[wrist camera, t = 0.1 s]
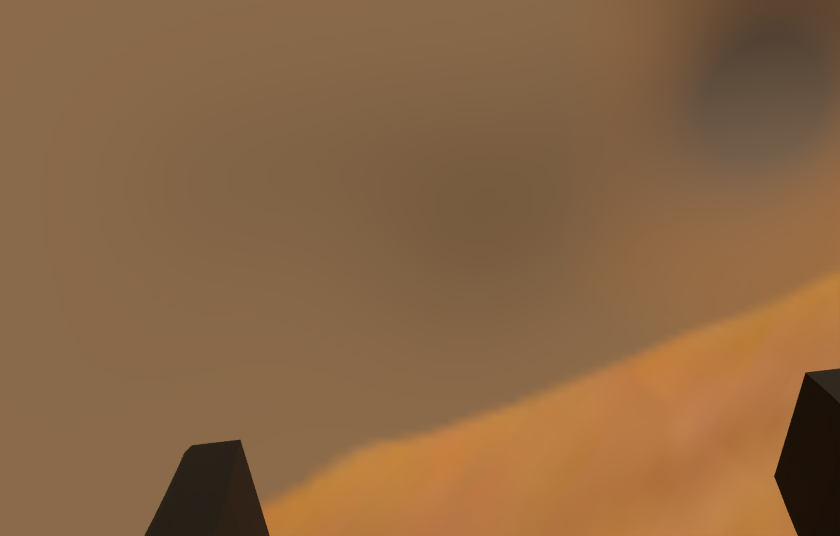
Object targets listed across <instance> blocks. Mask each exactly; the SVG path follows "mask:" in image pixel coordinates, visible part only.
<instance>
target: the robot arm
mask: <svg viewBox="0 0 840 536" xmlns="http://www.w3.org/2000/svg"><path fill="white" fill-rule="evenodd" d="M774 477H775V479H776V482H777V485H778V487H779V490H780V492H781V495H782V498H783V500H784V503H785V505H786V508H787V510H788V513H789V516H790V518H791V520H792V523H793V525H794V528H795V530H796V532H797V535H798V536H840V369H832V370H823V371H815V372H807V373H805V376H804V380H803V383H802V386H801V390H800V393H799V396H798V400H797V403H796V406H795V409H794V413H793V416H792V419H791V423H790V426H789V429H788V433H787V436H786V439H785V443H784V446H783V449H782V453H781V456H780V459H779V462H778V466H777V469H776V472H775V476H774ZM145 536H269V532H268V529H267V526H266V523H265V519H264V516H263V513H262V509H261V506H260V503H259V499H258V496H257V493H256V490H255V486H254V483H253V480H252V476H251V473H250V470H249V467H248V463H247V460H246V457H245V453H244V450H243V447H242V444H241V440H234V441H225V442H217V443H208V444H200V445H192V446H191V447H190V448H189V449H188V450H187V451H186V452H185V453H184V455H183V457H182V460H181V462H180V464H179V466H178V468H177V471H176V473H175V475H174V477H173V479H172V482H171V483H170V485H169V488H168V490H167V492H166V494H165V496H164V498H163V500H162V502H161V504H160V506H159V508H158V510H157V512H156V514H155V516H154V518H153V520H152V522H151V524H150V526H149V528H148V530H147V532H146V534H145Z"/></svg>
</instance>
